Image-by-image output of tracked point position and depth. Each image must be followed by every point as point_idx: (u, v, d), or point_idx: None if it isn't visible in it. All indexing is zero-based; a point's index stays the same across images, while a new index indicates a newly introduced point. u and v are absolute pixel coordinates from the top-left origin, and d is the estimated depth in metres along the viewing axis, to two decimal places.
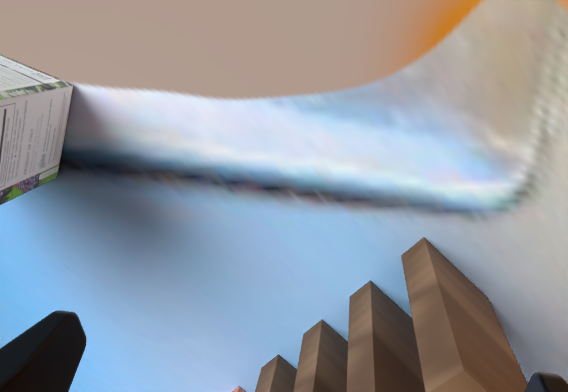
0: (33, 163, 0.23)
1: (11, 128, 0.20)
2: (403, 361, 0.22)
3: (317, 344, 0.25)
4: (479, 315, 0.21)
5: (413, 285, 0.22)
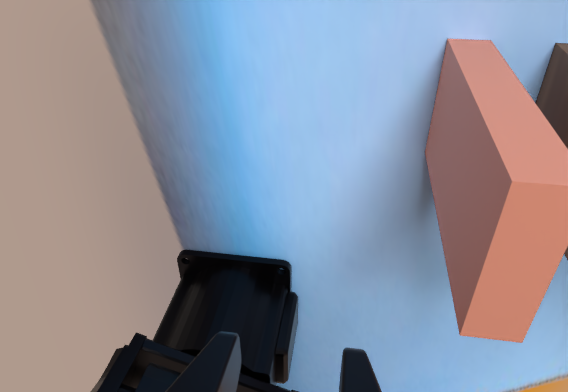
0: None
1: None
2: None
3: None
4: None
5: None
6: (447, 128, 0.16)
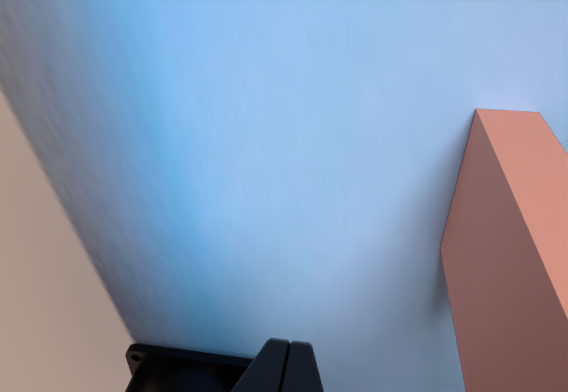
0: None
1: None
2: None
3: None
4: None
5: None
6: (479, 250, 0.11)
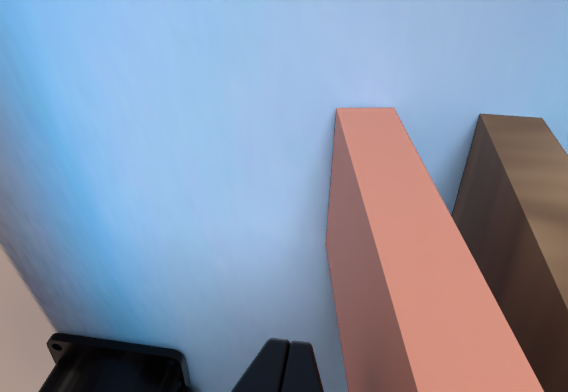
0: None
1: None
2: None
3: None
4: None
5: None
6: (346, 245, 0.11)
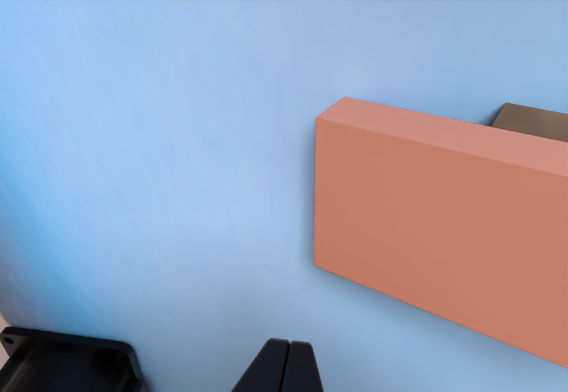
0: None
1: None
2: None
3: None
4: None
5: None
6: (430, 226, 0.11)
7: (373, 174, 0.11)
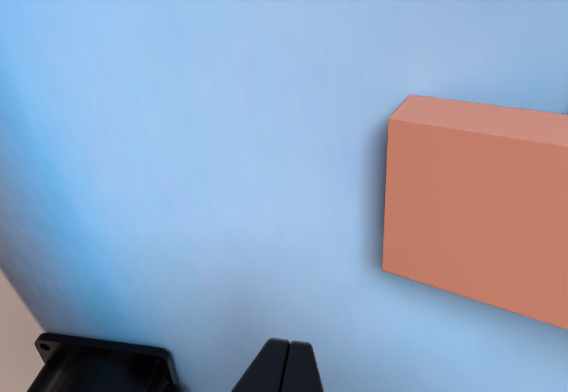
0: None
1: None
2: None
3: None
4: None
5: None
6: (517, 224, 0.11)
7: (453, 173, 0.11)
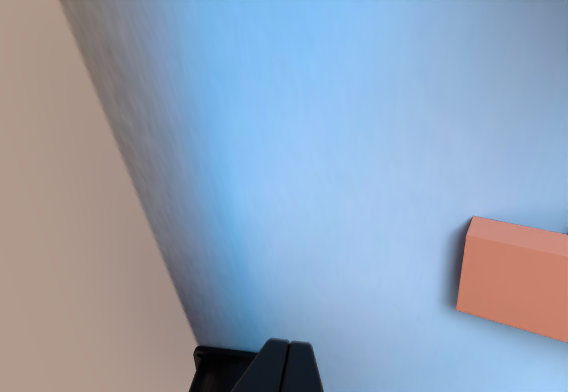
0: None
1: None
2: None
3: None
4: None
5: None
6: (536, 288, 0.21)
7: (501, 262, 0.21)
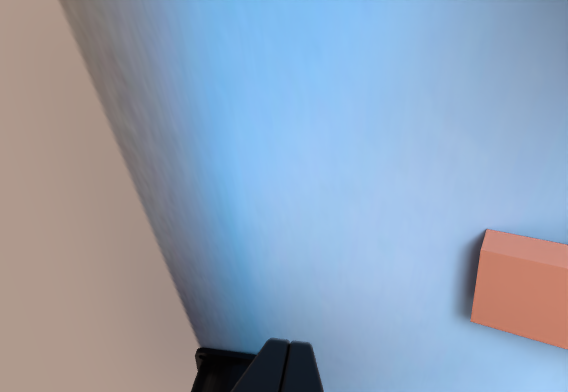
0: None
1: None
2: None
3: None
4: None
5: None
6: (552, 302, 0.21)
7: (516, 277, 0.21)
